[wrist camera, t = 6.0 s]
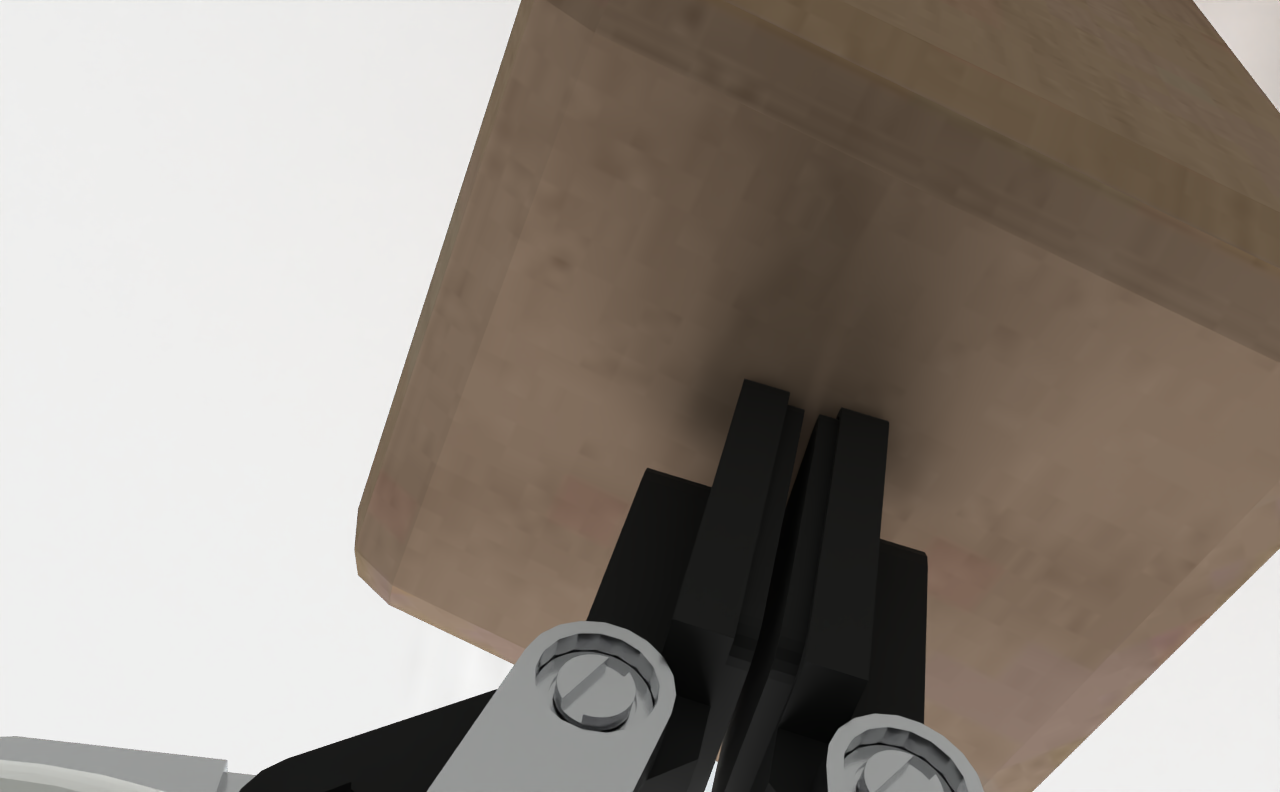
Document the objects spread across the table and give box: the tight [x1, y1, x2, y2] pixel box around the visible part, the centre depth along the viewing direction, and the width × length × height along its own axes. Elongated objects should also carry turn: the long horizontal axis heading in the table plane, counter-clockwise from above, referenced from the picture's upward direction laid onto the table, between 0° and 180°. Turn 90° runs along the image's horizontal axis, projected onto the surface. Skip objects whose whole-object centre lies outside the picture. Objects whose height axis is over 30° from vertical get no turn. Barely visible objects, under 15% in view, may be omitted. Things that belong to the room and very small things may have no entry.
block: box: [355, 0, 1280, 792], centre depth 21 cm, size 10×10×20 cm
